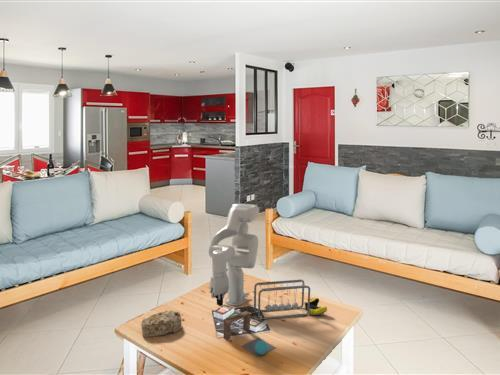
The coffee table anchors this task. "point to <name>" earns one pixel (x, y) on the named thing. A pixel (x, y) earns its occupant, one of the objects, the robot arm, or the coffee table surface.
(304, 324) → the coffee table surface
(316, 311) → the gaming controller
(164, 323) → the rock
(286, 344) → the coffee table surface
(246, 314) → the bridge
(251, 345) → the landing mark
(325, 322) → the coffee table surface
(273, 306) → the newton's cradle
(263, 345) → the ball
